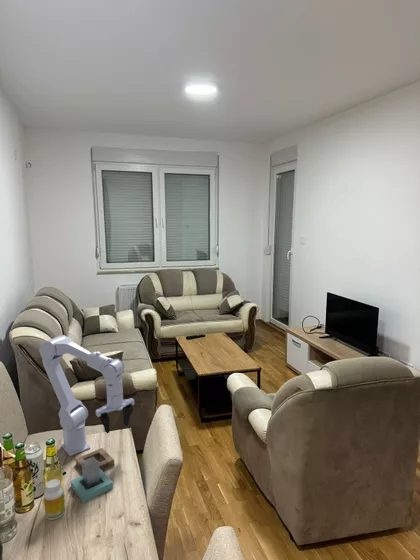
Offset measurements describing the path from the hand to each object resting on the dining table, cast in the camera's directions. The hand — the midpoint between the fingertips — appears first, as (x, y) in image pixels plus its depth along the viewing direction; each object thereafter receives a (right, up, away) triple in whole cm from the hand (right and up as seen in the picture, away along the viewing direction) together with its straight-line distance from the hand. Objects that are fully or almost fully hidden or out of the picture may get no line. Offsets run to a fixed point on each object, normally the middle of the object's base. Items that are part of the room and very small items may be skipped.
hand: (116, 428), depth 140 cm
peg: (-4, -13, -17) cm, 21 cm away
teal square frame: (-4, -13, -17) cm, 21 cm away
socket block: (-7, -11, -4) cm, 14 cm away
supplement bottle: (-11, -15, -28) cm, 33 cm away
